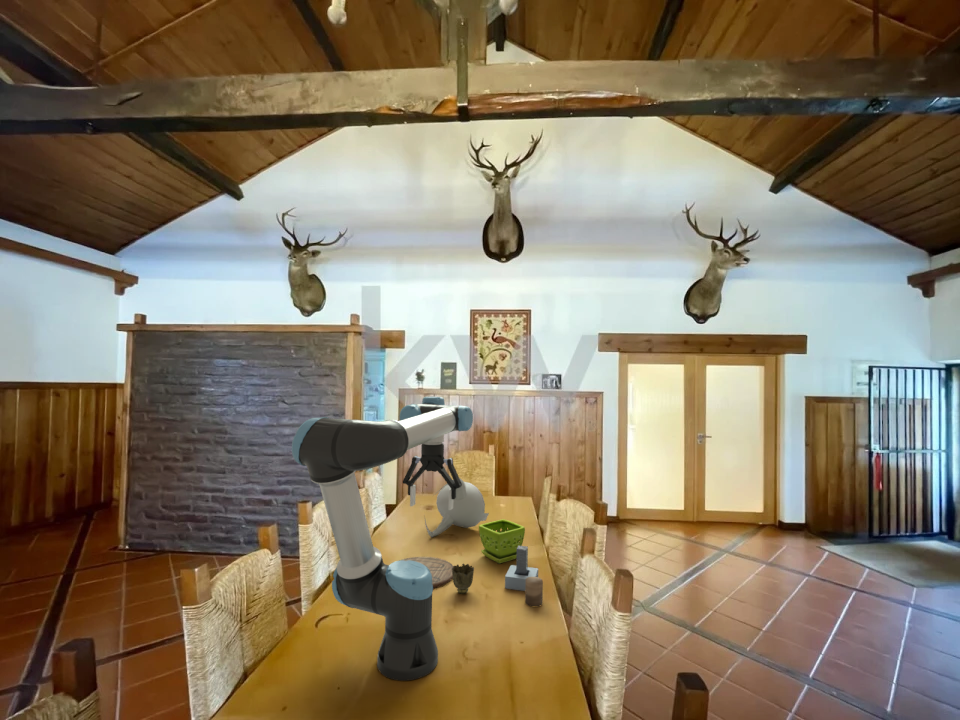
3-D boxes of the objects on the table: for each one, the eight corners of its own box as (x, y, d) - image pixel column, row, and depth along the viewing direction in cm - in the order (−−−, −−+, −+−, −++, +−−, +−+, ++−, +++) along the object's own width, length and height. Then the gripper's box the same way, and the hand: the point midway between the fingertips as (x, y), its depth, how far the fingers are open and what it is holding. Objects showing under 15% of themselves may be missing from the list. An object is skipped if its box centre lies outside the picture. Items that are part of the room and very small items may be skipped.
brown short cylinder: (541, 607, 145) (541, 585, 145) (523, 605, 146) (524, 582, 146) (543, 599, 150) (543, 577, 150) (526, 597, 152) (527, 575, 152)
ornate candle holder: (454, 598, 150) (454, 573, 150) (449, 588, 157) (449, 564, 157) (476, 596, 152) (476, 571, 152) (470, 586, 159) (471, 562, 159)
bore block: (534, 592, 155) (534, 580, 155) (504, 588, 158) (505, 576, 158) (538, 579, 165) (538, 568, 165) (510, 576, 167) (510, 565, 168)
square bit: (525, 585, 159) (526, 549, 160) (516, 583, 160) (516, 548, 161) (527, 581, 162) (527, 546, 163) (517, 579, 163) (518, 545, 164)
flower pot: (503, 548, 194) (504, 518, 195) (526, 559, 183) (526, 527, 184) (477, 555, 186) (477, 524, 187) (498, 567, 175) (499, 533, 175)
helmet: (500, 489, 221) (455, 483, 194) (475, 545, 221) (426, 547, 194) (466, 466, 237) (419, 458, 210) (442, 519, 236) (393, 518, 209)
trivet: (443, 594, 153) (443, 588, 153) (373, 586, 158) (373, 581, 159) (461, 564, 178) (461, 559, 178) (400, 558, 183) (400, 554, 183)
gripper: (471, 443, 154) (470, 507, 154) (403, 439, 161) (402, 501, 160) (465, 446, 147) (463, 513, 146) (393, 442, 154) (392, 506, 153)
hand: (431, 507), depth 153 cm, fingers open, 13 cm apart
